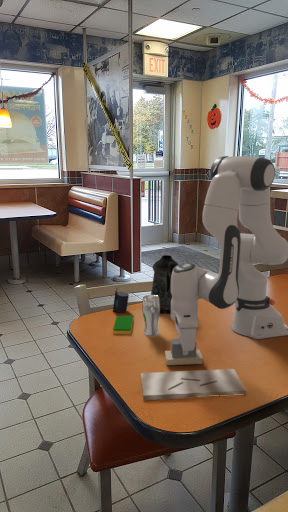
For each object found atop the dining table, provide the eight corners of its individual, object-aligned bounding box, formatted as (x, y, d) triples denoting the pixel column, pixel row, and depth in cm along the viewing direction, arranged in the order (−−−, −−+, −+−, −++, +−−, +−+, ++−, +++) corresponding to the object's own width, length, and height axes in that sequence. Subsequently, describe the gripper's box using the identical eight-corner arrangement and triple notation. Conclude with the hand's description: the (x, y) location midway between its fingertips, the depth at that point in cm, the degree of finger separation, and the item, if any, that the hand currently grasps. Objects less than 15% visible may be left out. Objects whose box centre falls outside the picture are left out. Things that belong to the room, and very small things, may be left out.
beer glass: (158, 337, 150) (158, 301, 146) (141, 336, 151) (140, 300, 148) (161, 329, 156) (161, 295, 153) (144, 328, 158) (144, 294, 154)
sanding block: (199, 354, 135) (199, 336, 133) (202, 363, 129) (202, 344, 127) (164, 356, 134) (164, 337, 132) (166, 365, 128) (166, 346, 126)
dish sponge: (133, 320, 167) (133, 315, 166) (130, 335, 153) (130, 329, 153) (116, 320, 167) (116, 315, 166) (113, 334, 153) (112, 329, 153)
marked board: (233, 373, 124) (233, 368, 124) (245, 395, 113) (245, 390, 112) (140, 377, 122) (140, 372, 122) (143, 400, 111) (143, 395, 110)
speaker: (108, 311, 176) (110, 289, 173) (114, 307, 181) (116, 286, 178) (123, 315, 173) (125, 293, 170) (128, 311, 178) (130, 290, 176)
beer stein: (165, 299, 191) (165, 250, 185) (196, 309, 177) (197, 257, 171) (141, 307, 180) (140, 256, 174) (171, 319, 166) (171, 263, 160)
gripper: (170, 301, 137) (170, 336, 140) (178, 325, 117) (178, 366, 121) (188, 300, 137) (187, 335, 141) (199, 324, 117) (198, 365, 121)
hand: (183, 350), depth 131 cm, fingers closed on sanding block, 4 cm apart
